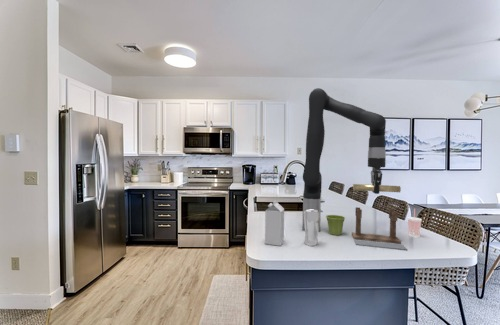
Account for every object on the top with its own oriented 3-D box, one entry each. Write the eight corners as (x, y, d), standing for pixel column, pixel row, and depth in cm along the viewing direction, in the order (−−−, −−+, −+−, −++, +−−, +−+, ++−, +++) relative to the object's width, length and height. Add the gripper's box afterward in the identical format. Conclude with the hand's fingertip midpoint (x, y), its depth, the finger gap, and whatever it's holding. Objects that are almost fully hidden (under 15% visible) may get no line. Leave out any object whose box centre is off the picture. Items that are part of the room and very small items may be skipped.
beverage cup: (415, 238, 116) (415, 209, 116) (403, 234, 122) (404, 207, 122) (424, 237, 118) (425, 209, 118) (413, 233, 124) (413, 207, 124)
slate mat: (355, 245, 106) (355, 243, 106) (354, 240, 111) (354, 239, 111) (407, 250, 100) (407, 249, 100) (402, 245, 106) (402, 244, 106)
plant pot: (321, 231, 125) (322, 215, 125) (336, 230, 128) (336, 214, 128) (333, 237, 116) (334, 219, 116) (349, 235, 120) (349, 218, 120)
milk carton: (283, 241, 110) (284, 200, 110) (280, 246, 103) (281, 202, 103) (268, 239, 112) (269, 199, 112) (264, 244, 105) (265, 201, 105)
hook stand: (353, 239, 114) (353, 209, 114) (351, 234, 121) (352, 206, 120) (401, 243, 108) (401, 212, 108) (396, 239, 115) (397, 209, 115)
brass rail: (353, 190, 116) (353, 184, 116) (352, 189, 119) (353, 183, 119) (400, 192, 110) (400, 186, 110) (398, 192, 113) (398, 185, 113)
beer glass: (310, 247, 102) (311, 212, 102) (300, 242, 108) (300, 209, 108) (322, 245, 105) (323, 211, 105) (311, 240, 111) (312, 208, 111)
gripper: (365, 157, 122) (364, 191, 122) (370, 156, 108) (369, 194, 109) (381, 157, 120) (381, 191, 120) (389, 157, 106) (388, 195, 106)
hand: (375, 192), depth 114 cm, fingers closed on brass rail, 3 cm apart
